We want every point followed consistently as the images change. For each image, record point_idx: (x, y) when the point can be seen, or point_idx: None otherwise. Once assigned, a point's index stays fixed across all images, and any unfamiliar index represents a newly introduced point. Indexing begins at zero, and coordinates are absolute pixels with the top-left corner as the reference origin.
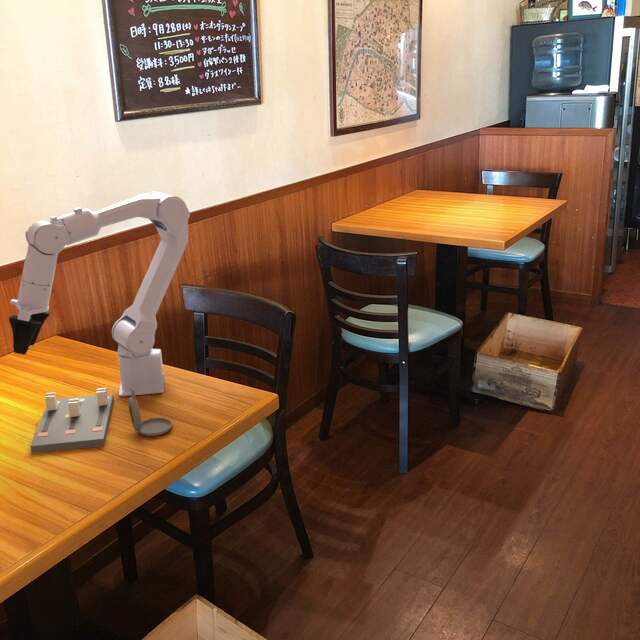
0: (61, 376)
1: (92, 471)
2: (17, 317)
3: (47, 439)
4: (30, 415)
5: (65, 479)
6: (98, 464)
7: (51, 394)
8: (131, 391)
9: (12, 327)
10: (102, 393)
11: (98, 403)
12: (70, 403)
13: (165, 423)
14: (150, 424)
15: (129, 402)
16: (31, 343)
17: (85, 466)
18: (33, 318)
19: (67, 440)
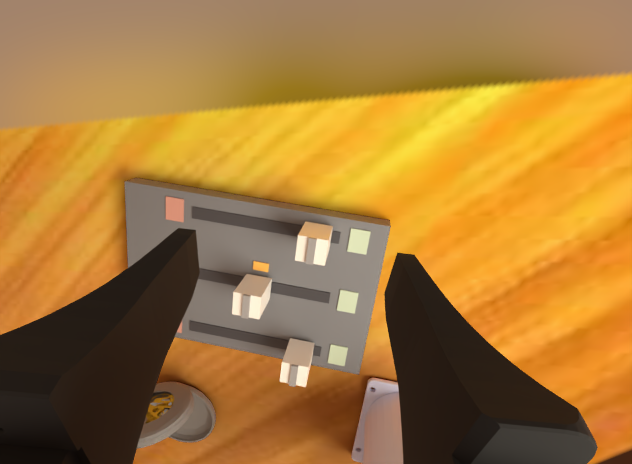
0: (612, 256)
1: (48, 288)
2: (4, 430)
3: (149, 219)
4: (347, 168)
5: (25, 242)
6: (71, 300)
7: (307, 254)
8: None
9: (31, 326)
10: (281, 372)
11: (288, 343)
12: (233, 297)
13: (198, 429)
14: (203, 406)
15: (154, 426)
16: (388, 294)
17: (67, 278)
18: (424, 429)
19: (135, 260)
